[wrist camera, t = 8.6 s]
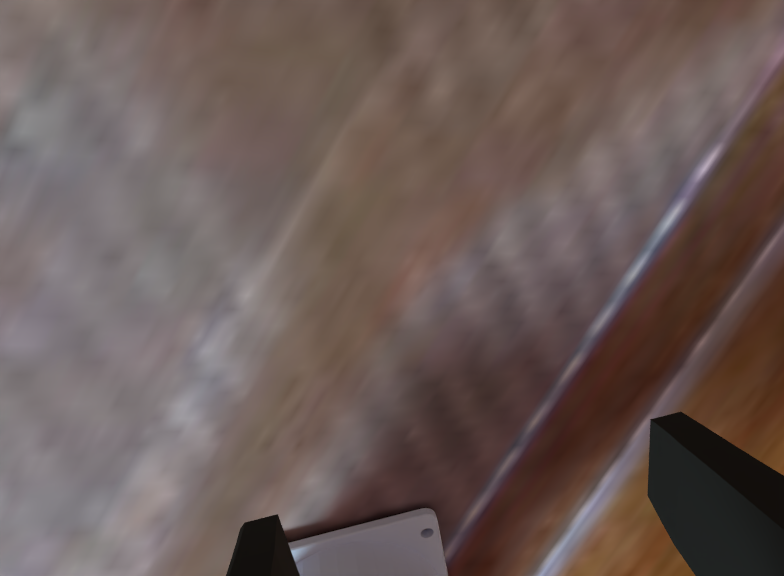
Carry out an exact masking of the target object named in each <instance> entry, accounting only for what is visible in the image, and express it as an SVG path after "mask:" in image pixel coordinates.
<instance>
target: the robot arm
mask: <svg viewBox="0 0 784 576" xmlns="http://www.w3.org/2000/svg"><path fill="white" fill-rule="evenodd" d="M648 497H649V499H650V501H651V503H652V505H653V507H654V508H655V510H656V512H657V514H658V516H659V518H660V520H661V522H662V524H663V525H664V527H665V529H666V531H667V532H668V534H669V536H670V538H671V540H672V541H673V543H674V545H675V546H676V548H677V549H678V551H679V552H680V554H681V555H682V557H683V558H684V560H685V561H686V562H687V564H688V565H689V567H690V568H691V570H692V571H693V572H694V574H695V575H696V576H784V476H783V475H782V474H780V473H778V472H777V471H775V470H773V469H772V468H770V467H768V466H767V465H765V464H763V463H762V462H760V461H759V460H757V459H755V458H754V457H752V456H750V455H749V454H747V453H746V452H744V451H742V450H741V449H739V448H738V447H736V446H734V445H733V444H731V443H730V442H728V441H727V440H725V439H723V438H722V437H720V436H719V435H717V434H716V433H714V432H712V431H711V430H709V429H708V428H706V427H705V426H703V425H701V424H700V423H698V422H697V421H695V420H693V419H692V418H690V417H689V416H687V415H685V414H684V413H682V412H678V413H674V414H670V415H666V416H663V417H659V418H655V419H651V425H650V450H649V474H648ZM426 528H429V529H426ZM424 529H426V530H424ZM226 576H448V573H447V567H446V562H445V557H444V551H443V546H442V541H441V536H440V530H439V525H438V520H437V517H436V514H435V512H434V511H433V510H432V509H429V508H422V509H418V510H414V511H410V512H406V513H402V514H398V515H394V516H390V517H387V518H383V519H379V520H375V521H371V522H367V523H363V524H359V525H356V526H352V527H348V528H344V529H340V530H336V531H332V532H328V533H325V534H321V535H317V536H313V537H309V538H305V539H301V540H297V541H293V542H290V543H288V541H287V539H286V536H285V533H284V530H283V528H282V525H281V522H280V519H279V517H278V514H277V515H273V516H269V517H265V518H261V519H258V520H254V521H250V522H246V523H244V524H243V526H242V527H241V528H240V532H239V535H238V539H237V543H236V546H235V549H234V553H233V556H232V559H231V562H230V565H229V568H228V571H227V574H226Z"/></svg>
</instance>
